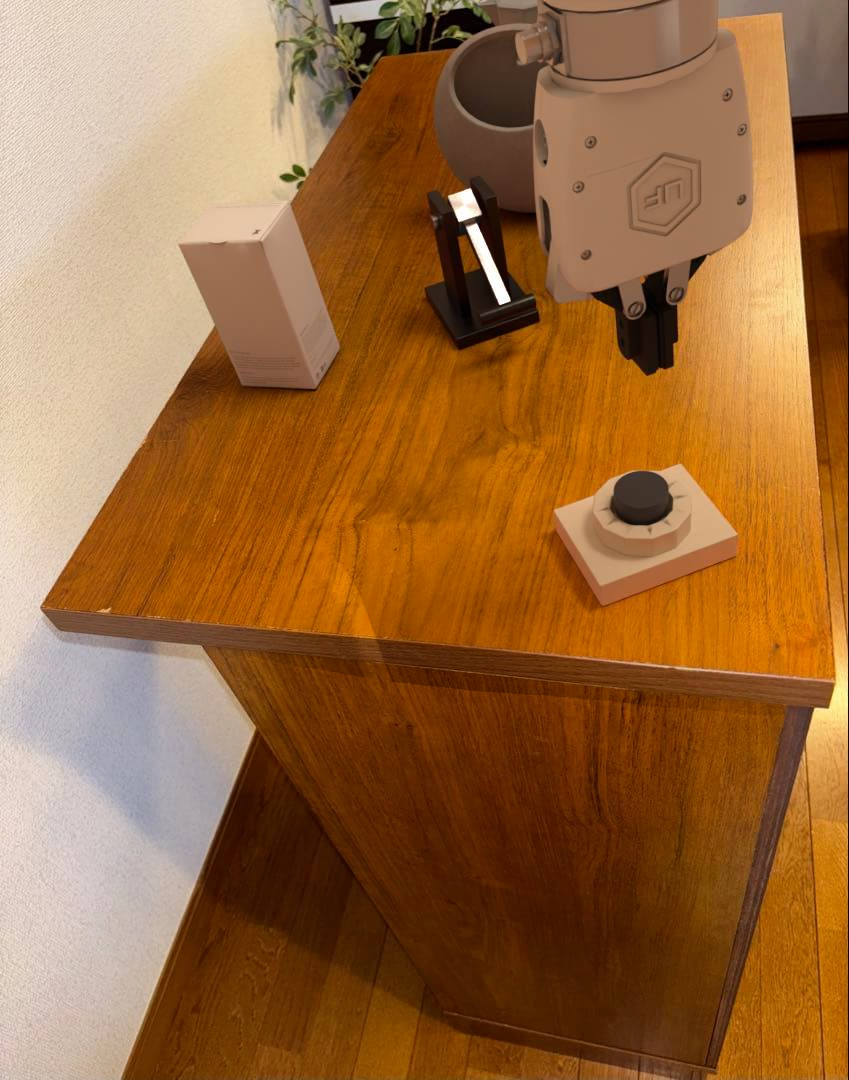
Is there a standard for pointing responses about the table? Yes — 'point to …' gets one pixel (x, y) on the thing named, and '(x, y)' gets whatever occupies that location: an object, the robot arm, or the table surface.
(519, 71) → the planter
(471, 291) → the bracket
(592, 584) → the block
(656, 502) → the button
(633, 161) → the robot arm
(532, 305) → the lever
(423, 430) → the table surface
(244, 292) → the cosmetic box
